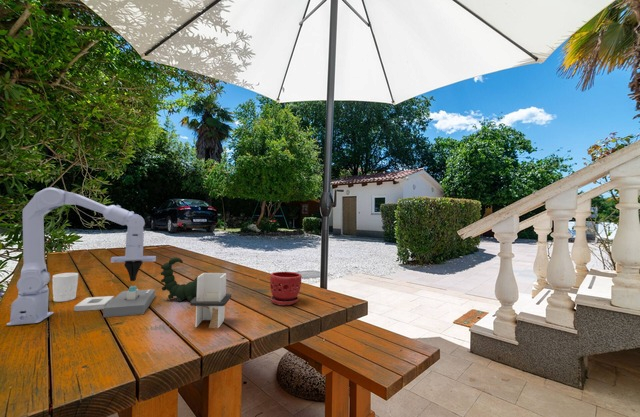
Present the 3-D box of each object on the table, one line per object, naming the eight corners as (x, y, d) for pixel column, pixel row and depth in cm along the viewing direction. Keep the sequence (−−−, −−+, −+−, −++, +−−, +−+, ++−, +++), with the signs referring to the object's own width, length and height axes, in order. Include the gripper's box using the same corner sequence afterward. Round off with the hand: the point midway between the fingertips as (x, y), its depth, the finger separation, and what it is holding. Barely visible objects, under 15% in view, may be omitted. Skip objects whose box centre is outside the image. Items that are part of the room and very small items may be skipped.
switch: (143, 314, 101) (143, 304, 102) (103, 317, 97) (103, 307, 97) (155, 296, 122) (155, 288, 122) (122, 298, 118) (122, 290, 118)
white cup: (65, 302, 111) (66, 277, 111) (45, 302, 111) (46, 276, 111) (82, 296, 119) (83, 273, 119) (64, 296, 119) (65, 272, 119)
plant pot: (295, 308, 112) (296, 278, 113) (264, 305, 115) (265, 275, 115) (304, 299, 125) (304, 271, 125) (275, 296, 128) (276, 269, 128)
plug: (134, 307, 108) (135, 288, 108) (126, 308, 107) (127, 288, 107) (137, 304, 112) (138, 285, 112) (129, 304, 111) (130, 285, 111)
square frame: (104, 309, 105) (104, 304, 105) (74, 311, 102) (74, 306, 102) (113, 300, 115) (114, 295, 115) (86, 302, 112) (86, 297, 112)
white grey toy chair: (152, 340, 82) (155, 283, 82) (186, 311, 106) (187, 267, 106) (240, 340, 84) (242, 284, 84) (253, 311, 108) (255, 268, 108)
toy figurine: (158, 307, 114) (220, 303, 114) (155, 260, 114) (217, 256, 115) (170, 299, 124) (227, 296, 124) (168, 256, 124) (225, 253, 124)
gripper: (157, 244, 116) (156, 277, 116) (115, 244, 111) (114, 279, 111) (154, 246, 110) (152, 281, 109) (109, 246, 105) (107, 283, 104)
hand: (133, 280), depth 110 cm, fingers closed
